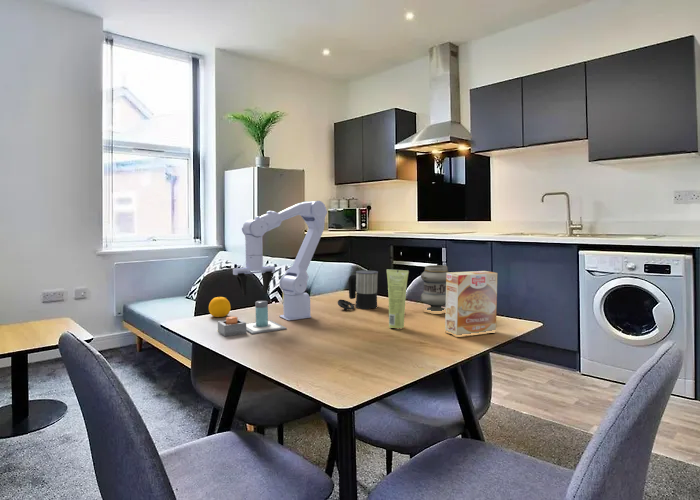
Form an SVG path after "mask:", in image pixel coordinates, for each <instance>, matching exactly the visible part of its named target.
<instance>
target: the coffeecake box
mask: <svg viewBox="0 0 700 500" xmlns="http://www.w3.org/2000/svg"><path fill="white" fill-rule="evenodd" d="M449 272H450V271H449ZM497 300H498V272H494V271H487V270H478V271H477V270H476V271H475V270H474V271H473V270H472V271H455V272H454V271H453V272H452V271H451V272H450V273H446V305H445V309H446V314H444V315H445V322H444V323H445V324H444V325H445V326H444V331H445V330H446V331H448V332H451V333H453V334H456V335H462V334H471V333H479V332H486V331H492V330H496V331H497V304H498V301H497Z"/></svg>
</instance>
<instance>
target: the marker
mask: <svg viewBox="0 0 700 500" xmlns="http://www.w3.org/2000/svg"><path fill="white" fill-rule="evenodd" d="M254 303H255V322H256V327H266V326H268V321H269V309H268V307H269V306H268V303H269V301H267V300H257V301H255V302H254Z"/></svg>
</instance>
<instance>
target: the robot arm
mask: <svg viewBox="0 0 700 500" xmlns="http://www.w3.org/2000/svg"><path fill="white" fill-rule="evenodd" d="M327 214H328V210H327V207H326V205H325V203H324V202H323V201H322V200H316V201H306V200H305V201H302V202H298V203H296V204H294V205H291V206H289V207H287V208H285V209H283V210H281V211H279V212H276V211H274V210H268V211H266V213H265V214H262V215H261V216H259V215H257V216H255V217H254V219H248V220H246V221H245V222H244V224H243V226H242V227H241V233H242V234H243V235H244V237H245V238H244V240H245V242H244V243H245V267H238V268H237V267H236V268H232V275H233V276H234V277H235V278H236V280H237V282H238V285H239V287H240V292H241V296H243V297H245V296H247V280H248V277H247V275H248V274H250V275H251V274H261V278H262V291H263V292H262V293H263V294H268V292H269V287H270V284H271V281H272V279H273V278H274V275H275V274H274V273H275V272H276V266H274V265H271V266H269V265H268V266H266V265H265V266H264V260H263V255H264V254H263V251H264V250H263V249H264V248H263V242H264V241H263V236H264V235H265V233H267V232H270V231H272V230H273V229H277V228H278V227H280V226H281V225H282V222H283V221H285V220H288V219H291V218H293V217H296V216H301V218H302V220H303V221H304V223H305V224H306V225H307V232H306V234H305V235H304V239H303V241H302V244H301V245H300V247H299V249H298V252H297V254H296V257H295V258H294V261H293V264H292V265H291V266H290V267H289V268H288V269H287V270H286V271H285V273H284V274H283V275H282V276H281V278H280V279H279V288H281V290H282V304H283V307H282V309H283V314H280V315H279V317H280V318H281V319H284V320H286V321H295V320H303V319H309V318H312V316H311V297H310V295H309V293H307V292H305V291H306V290H307V289H308V288H307V287H308V280H309V275H308V273H307V271H308V267H309V266H310V263H311V261H312V258H313V257H314V254H315V252H316V249H317V247H318V245H319V242H320V240H321V238H322V235H323V232H324V230H325V225H326V224H325V222H326V216H327Z"/></svg>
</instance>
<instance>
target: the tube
mask: <svg viewBox="0 0 700 500" xmlns="http://www.w3.org/2000/svg"><path fill="white" fill-rule="evenodd" d="M409 273H410V271H409V270H403V269H386V278H387V290H388V291H387V292H388V293H387V294H388V328H389V327H390V328H389V329H391V328H403V327H404V328H405V313H406V312H405V310H406V309H405V308H406V299H407V298H406V297H407V286H408V279H409ZM404 328H403V329H404Z"/></svg>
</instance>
